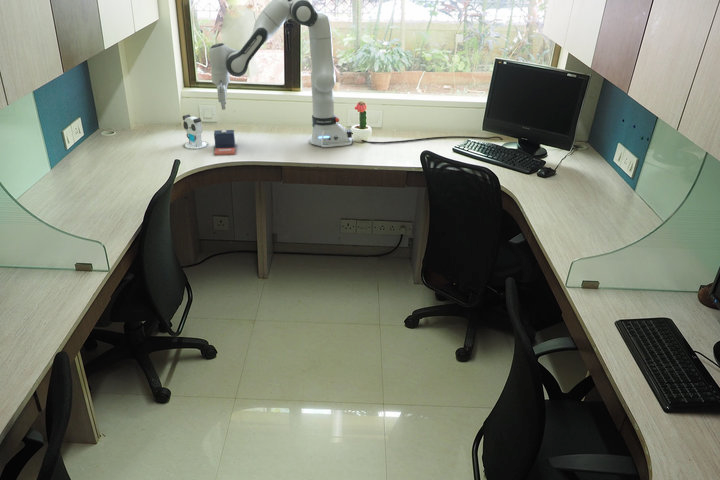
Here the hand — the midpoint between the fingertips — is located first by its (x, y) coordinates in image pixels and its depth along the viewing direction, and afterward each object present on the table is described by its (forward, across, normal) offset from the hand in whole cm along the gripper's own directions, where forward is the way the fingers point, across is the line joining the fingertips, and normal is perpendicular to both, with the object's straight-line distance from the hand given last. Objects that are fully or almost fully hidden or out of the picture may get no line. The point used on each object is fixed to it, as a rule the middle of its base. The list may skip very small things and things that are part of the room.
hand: (223, 106), depth 314 cm
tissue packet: (+20, -10, +1) cm, 23 cm away
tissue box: (+20, -2, +1) cm, 21 cm away
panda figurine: (+20, +3, +17) cm, 27 cm away
